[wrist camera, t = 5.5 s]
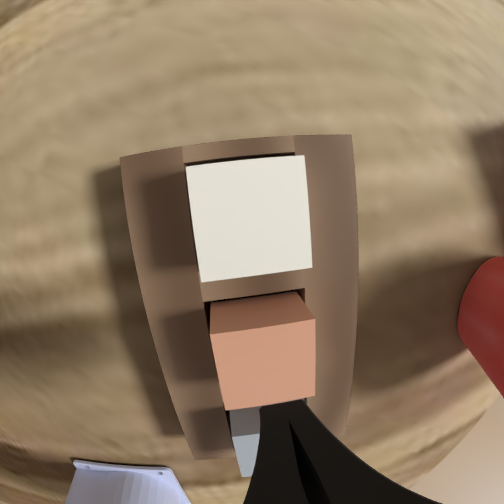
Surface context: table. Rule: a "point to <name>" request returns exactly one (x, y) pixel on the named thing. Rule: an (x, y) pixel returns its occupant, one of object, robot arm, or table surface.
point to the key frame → (199, 293)
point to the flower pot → (485, 319)
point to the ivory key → (250, 217)
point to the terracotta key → (263, 349)
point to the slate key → (246, 436)
